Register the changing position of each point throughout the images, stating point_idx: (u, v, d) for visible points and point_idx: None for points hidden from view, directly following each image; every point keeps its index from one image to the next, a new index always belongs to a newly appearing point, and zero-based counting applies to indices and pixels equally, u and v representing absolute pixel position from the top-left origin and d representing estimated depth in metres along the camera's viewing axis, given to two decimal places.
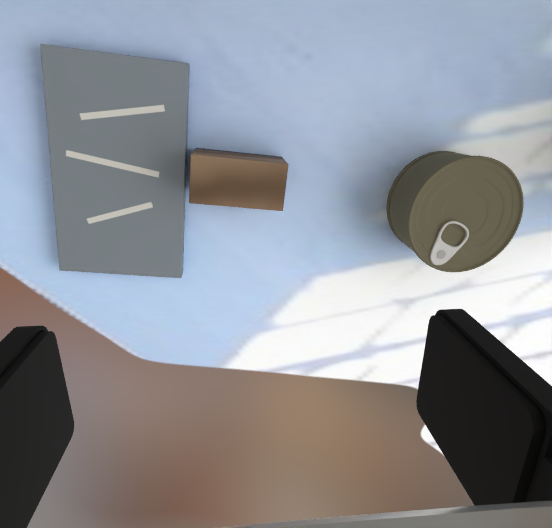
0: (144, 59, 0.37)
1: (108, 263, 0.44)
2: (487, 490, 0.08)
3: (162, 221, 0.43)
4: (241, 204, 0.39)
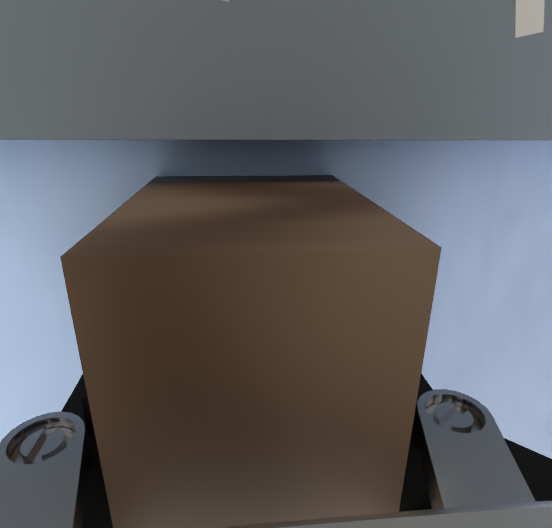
0: None
1: None
2: None
3: None
4: None
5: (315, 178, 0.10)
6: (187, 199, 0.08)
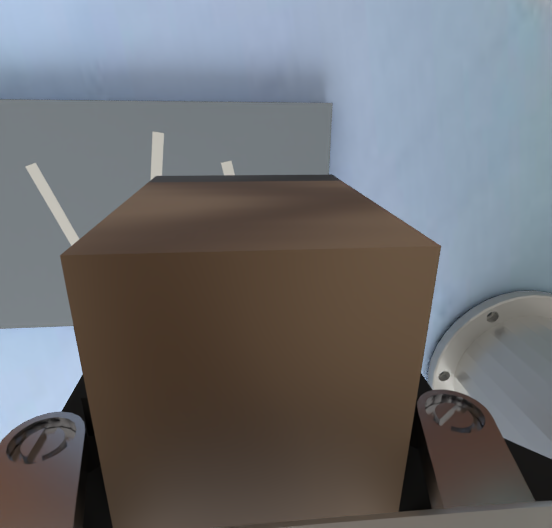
0: None
1: None
2: None
3: None
4: None
5: (315, 177, 0.10)
6: (187, 198, 0.08)
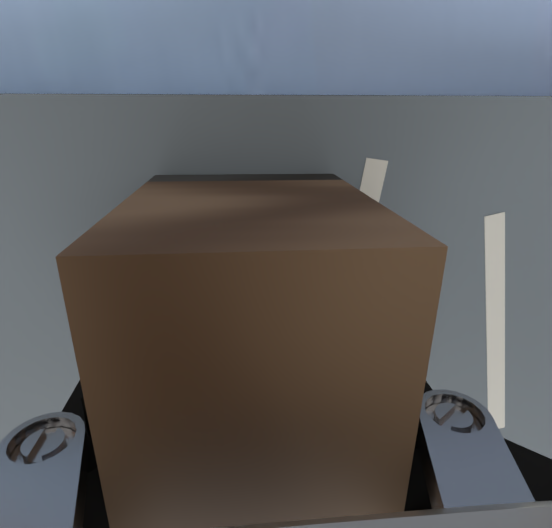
0: None
1: None
2: None
3: None
4: None
5: (316, 176, 0.10)
6: (186, 198, 0.07)
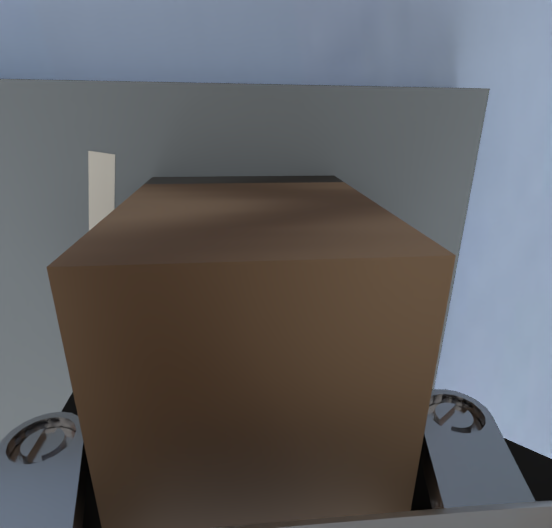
0: None
1: None
2: None
3: None
4: None
5: (317, 179, 0.10)
6: (184, 202, 0.07)
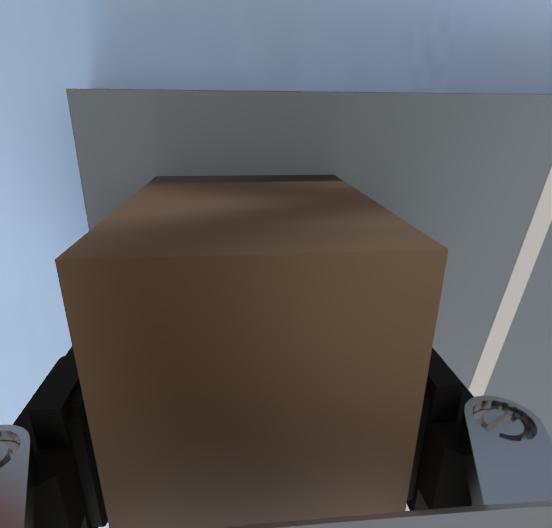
0: None
1: None
2: None
3: None
4: None
5: (317, 178, 0.10)
6: (187, 199, 0.07)
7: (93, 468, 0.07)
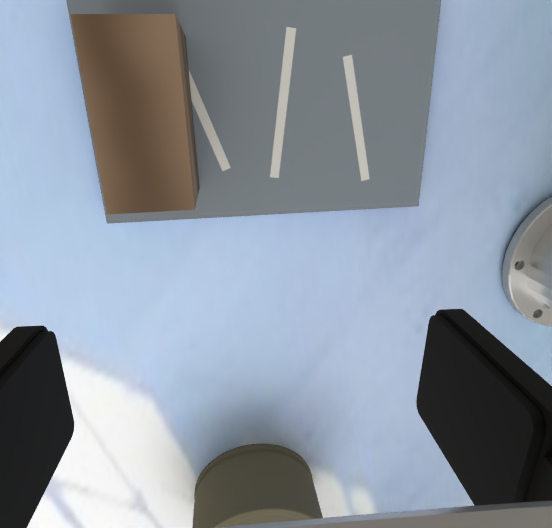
0: (422, 150, 0.28)
1: None
2: (487, 490, 0.08)
3: (201, 186, 0.27)
4: (98, 132, 0.19)
5: None
6: None
7: None
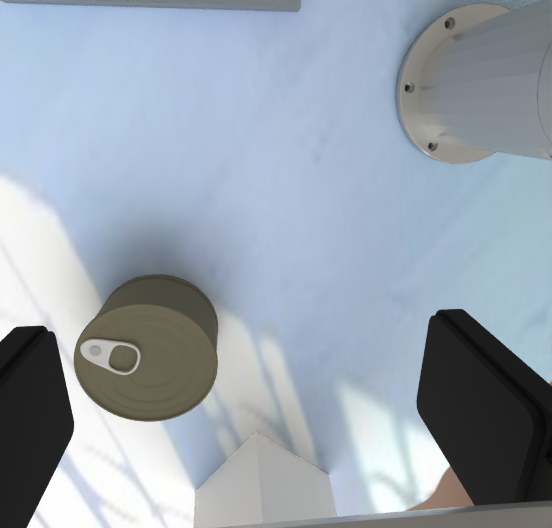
0: None
1: None
2: (487, 489, 0.08)
3: None
4: None
5: None
6: None
7: None
